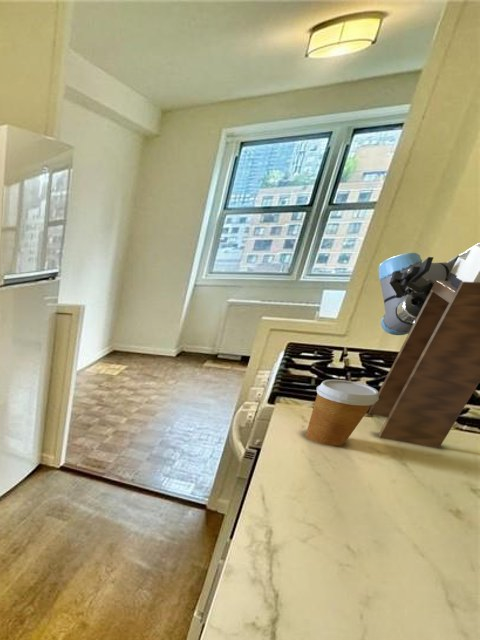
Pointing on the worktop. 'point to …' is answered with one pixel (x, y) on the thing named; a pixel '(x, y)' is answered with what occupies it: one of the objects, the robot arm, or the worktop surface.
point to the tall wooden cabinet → (433, 368)
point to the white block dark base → (466, 268)
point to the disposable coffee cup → (339, 410)
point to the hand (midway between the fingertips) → (476, 265)
